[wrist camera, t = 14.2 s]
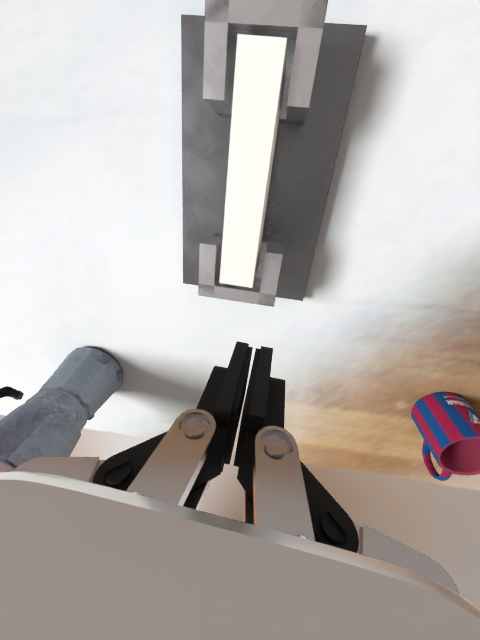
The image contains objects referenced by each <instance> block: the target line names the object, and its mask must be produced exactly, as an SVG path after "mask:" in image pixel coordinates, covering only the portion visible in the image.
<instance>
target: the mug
mask: <svg viewBox="0 0 480 640" xmlns="http://www.w3.org/2000/svg"><path fill="white" fill-rule="evenodd" d="M411 415H412V418H413V420H414V422H415V424H416V425H417V427H418V429H419V431H420V433H421V434H422V436H423V438H424V442H423V449H422V453H423V459H424V462H425V465H426V467H427V469H428V471H429V473H430V474H431V475H432V476H433V477H434V478H436V479H438V480H441V481H445V480H447V479H449V478H450V476H451V475H452V473H453V474H458V475H476V474H480V416H479V415H478V414H477V413H476V412H475V411H474V409H473V408H472V407H471V406H470V405H469V404H468V402H467V401H466V400H465V399H464V398H463V397H461V396H460V395H457V394H454V393H449V392H439V393H433V394H430V395H427V396H425V397H423V398H421V399H420V400H419V401H418V402H416V404H415V405H414V406H413V408H412V412H411ZM430 451H431V452H432V454H433V456H434V458H435V459H436V461H437V463H438V465H439V466H440V467H441V468H442V469H443V471H442V473H441V475H439V474H438V473H437V471H436V470H435V468H434V466H433V463H432V461H431V455H430Z"/></svg>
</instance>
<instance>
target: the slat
mask: <svg viewBox="0 0 480 640" xmlns="http://www.w3.org/2000/svg"><path fill="white" fill-rule="evenodd" d="M286 53H287V38H283V37H270V36H257V35H244V34H237V48H236V62H235V75H234V89H233V103H232V117H231V130H230V144H229V158H228V172H227V185H226V199H225V213H224V226H223V240H222V254H221V268H220V281H219V283H224V284H230V285H236V286H243V287H249V288H252V287H253V284H254V280H255V277H256V274H257V269H258V262H259V255H260V248H261V241H262V234H263V227H264V220H265V213H266V206H267V200H268V193H269V186H270V179H271V172H272V165H273V158H274V151H275V144H276V137H277V130H278V123H279V116H280V109H281V102H282V95H283V88H284V81H285V74H286Z"/></svg>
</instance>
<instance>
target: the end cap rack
mask: <svg viewBox="0 0 480 640" xmlns="http://www.w3.org/2000/svg"><path fill="white" fill-rule="evenodd" d="M327 4H328V0H205V16H196V15H181V37H182V176H183V283H186V284H193V285H199V292H198V295H200V296H207V297H213V298H220V299H226V300H233V301H240V302H246V303H253V304H260V305H266V306H273V307H274V302H275V297H281V298H287V299H294V300H301V301H303V297H304V293H305V288H306V284H307V280H308V276H309V271H310V267H311V263H312V258H313V254H314V250H315V246H316V241H317V237H318V233H319V229H320V224H321V220H322V216H323V211H324V207H325V203H326V199H327V194H328V190H329V186H330V182H331V177H332V173H333V169H334V165H335V160H336V156H337V152H338V147H339V143H340V139H341V135H342V130H343V126H344V122H345V118H346V113H347V109H348V105H349V100H350V96H351V92H352V88H353V83H354V79H355V75H356V71H357V66H358V62H359V58H360V54H361V49H362V45H363V41H364V36H365V32H366V28H367V25H351V24H333V23H324V20H325V15H326V9H327ZM237 34H244V35H257V36H270V37H283V38H287V53H286V74H285V81H284V88H283V95H282V102H281V109H280V116H279V123H278V130H277V137H276V144H275V151H274V158H273V165H272V172H271V179H270V186H269V193H268V200H267V206H266V213H265V220H264V227H263V234H262V241H261V248H260V255H259V262H258V269H257V274H256V277H255V280H254V284H253V287H252V288H249V287H243V286H236V285H230V284H224V283H219V281H220V268H221V254H222V240H223V226H224V213H225V199H226V185H227V172H228V158H229V144H230V130H231V117H232V103H233V89H234V75H235V62H236V48H237Z"/></svg>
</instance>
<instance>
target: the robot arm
mask: <svg viewBox="0 0 480 640" xmlns="http://www.w3.org/2000/svg"><path fill="white" fill-rule="evenodd" d="M248 345H249V344H247V343H242V342H237V343H236V346H235V349H234V352H233V354H232V357H231V360H230V363H229V366H228V368H223V367H218V366H215V367H214V368H213V371H212V373H211V375H210V378H209V380H208V382H207V385H206V387H205V390H204V392H203V394H202V397H201V399H200V401H199V404H198V406H197V408H196V409H191V410H187V411H185V412H183V413H182V414H181V415H180V416H179V417H178V418H177V419H176V420H175V422H174V423H173V425H172V426H171V427H170V429H169V430H168V431H167V432H165V433H163V434H160V435H158V436H156V437H154V438H151V439H149V440H147V441H145V442H143V443H140V444H138V445H136V446H134V447H131V448H129V449H127V450H125V451H122V452H120V453H118V454H116V455H113V456H112V457H110V458H108V459H107V460H100V459H99V457H38V458H33V459H30V460H28V461H26V462H24V463H22V464H21V465H19V466H18V467H16V468H15V469H14V470H13V471H12V472H2V473H0V640H480V609H479V608H478V607H476V606H475V605H474V604H472V603H471V602H470V601H468V600H467V599H465V598H463V597H462V596H460V593H459V591H458V588H457V586H456V584H455V582H454V581H453V579H452V578H451V576H450V575H449V573H448V572H447V571H446V570H445V569H444V568H443V567H442V566H441V565H440V564H439V563H437V562H436V561H434V560H433V559H432V558H430V557H428V556H426V555H424V554H422V553H420V552H418V551H416V550H414V549H412V548H410V547H408V546H406V545H404V544H402V543H400V542H398V541H396V540H394V539H392V538H390V537H388V536H386V535H384V534H382V533H380V532H378V531H376V530H374V529H372V528H370V527H368V526H366V525H364V524H363V525H362V526H359V525H357V524H355V523H353V521H352V520H351V518H350V517H349V516H348V514H347V513H346V512H345V511H344V510H343V509H342V507H341V506H340V505H339V504H338V503H337V502H336V501H335V499H334V498H333V497H332V496H331V495H330V494H329V493H328V492H327V490H326V489H325V488H324V487H323V486H322V485H321V484H320V482H318V480H317V479H316V478H315V477H314V476H313V475H312V473H311V472H310V471H309V470H308V469H307V468H306V467H305V465H304V464H303V463H302V462H301V461H300V458H299V452H298V447H297V444H296V441H295V439H294V437H293V436H292V435H291V434H290V433H289V432H288V431H287V430H285V429H284V408H285V380H282V379H277V378H272V377H270V371H271V362H272V353H273V348H268V347H263V346H261V349H257V348H256V352H255V356H254V361H253V366H252V370H251V375H250V380H249V385H248V389H247V394H246V399H245V403H244V408H243V413H242V419H241V425H240V431H239V437H238V443H237V449H236V455H235V461H234V466H238V467H239V470H238V476H237V479H238V480H239V482H240V483H241V485H242V487H243V488H244V499H243V502H244V503H243V522H241V521H237V520H233V519H229V518H225V517H222V516H218V515H214V514H210V513H206V512H203V511H199V508H200V505H201V503H202V501H203V498H204V496H205V494H206V491H207V489H208V487H209V484H210V480H211V479H213V478H215V477H216V476H218V475H220V473H221V472H222V471H223V466H224V463H225V464H230V460H231V455H232V450H233V446H234V441H235V437H236V432H237V428H238V423H239V419H240V414H241V410H242V405H243V400H244V396H245V390H246V384H247V378H248V372H249V366H250V360H251V354H252V347H248Z"/></svg>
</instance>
